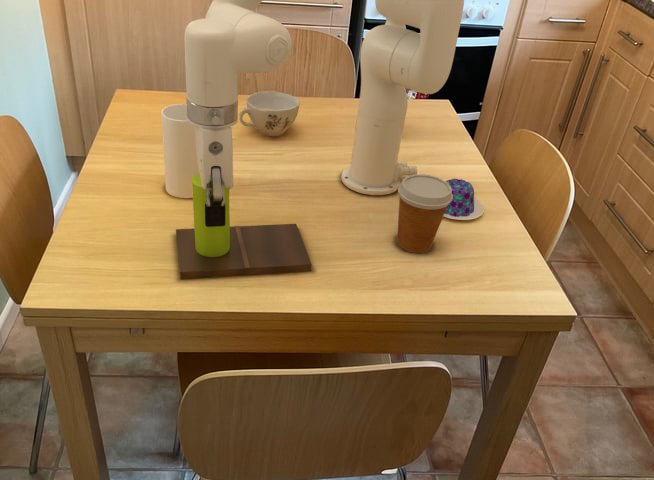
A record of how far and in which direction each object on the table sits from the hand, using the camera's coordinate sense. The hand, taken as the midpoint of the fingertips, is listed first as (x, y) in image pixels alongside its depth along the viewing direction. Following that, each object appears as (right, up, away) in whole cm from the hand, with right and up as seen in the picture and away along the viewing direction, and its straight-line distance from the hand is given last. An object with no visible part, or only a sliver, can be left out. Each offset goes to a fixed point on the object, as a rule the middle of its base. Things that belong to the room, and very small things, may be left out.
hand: (213, 213), depth 104 cm
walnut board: (+4, -6, +6) cm, 10 cm away
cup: (-8, +8, +23) cm, 26 cm away
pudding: (+46, +4, +24) cm, 52 cm away
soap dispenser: (0, -5, +5) cm, 7 cm away
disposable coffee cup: (+36, -4, +12) cm, 38 cm away
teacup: (+7, +25, +47) cm, 54 cm away
